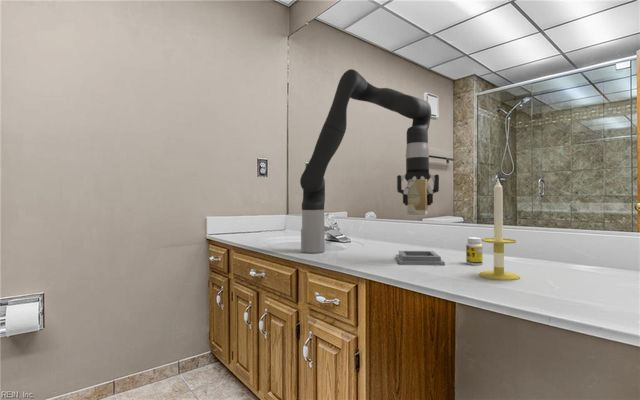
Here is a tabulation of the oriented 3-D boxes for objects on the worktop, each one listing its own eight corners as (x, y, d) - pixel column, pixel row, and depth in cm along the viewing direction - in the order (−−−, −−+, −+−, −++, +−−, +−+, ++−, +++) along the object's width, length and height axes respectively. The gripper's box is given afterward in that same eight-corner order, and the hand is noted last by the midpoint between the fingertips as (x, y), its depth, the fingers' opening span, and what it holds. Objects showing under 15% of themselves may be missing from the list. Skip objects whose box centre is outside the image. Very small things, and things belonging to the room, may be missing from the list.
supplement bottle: (463, 263, 110) (462, 237, 110) (473, 261, 112) (473, 236, 112) (475, 265, 106) (474, 239, 106) (485, 264, 108) (485, 238, 108)
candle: (502, 281, 85) (501, 176, 85) (470, 274, 95) (469, 178, 95) (528, 277, 89) (527, 176, 89) (495, 270, 99) (494, 178, 98)
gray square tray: (400, 264, 109) (400, 256, 109) (395, 257, 123) (395, 250, 123) (444, 265, 107) (444, 257, 107) (435, 257, 121) (435, 250, 121)
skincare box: (406, 215, 115) (406, 179, 115) (409, 214, 119) (409, 179, 118) (426, 215, 112) (426, 178, 112) (428, 214, 116) (428, 179, 116)
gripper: (397, 156, 112) (397, 205, 112) (441, 155, 110) (442, 205, 110) (394, 159, 120) (395, 205, 120) (436, 158, 118) (436, 204, 118)
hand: (417, 205), depth 115 cm, fingers closed on skincare box, 7 cm apart
